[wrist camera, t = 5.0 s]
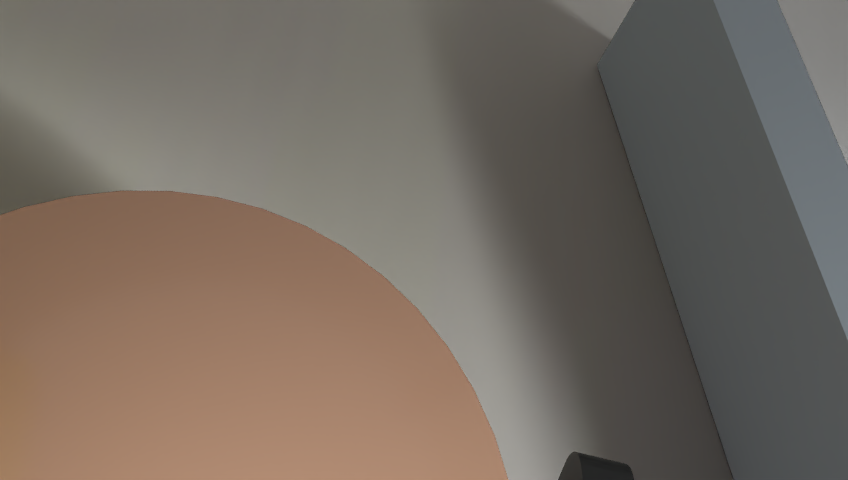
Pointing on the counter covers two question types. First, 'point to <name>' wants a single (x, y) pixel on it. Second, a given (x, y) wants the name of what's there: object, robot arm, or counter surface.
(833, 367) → the low wall
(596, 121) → the counter surface
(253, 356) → the peach rounded cylinder
